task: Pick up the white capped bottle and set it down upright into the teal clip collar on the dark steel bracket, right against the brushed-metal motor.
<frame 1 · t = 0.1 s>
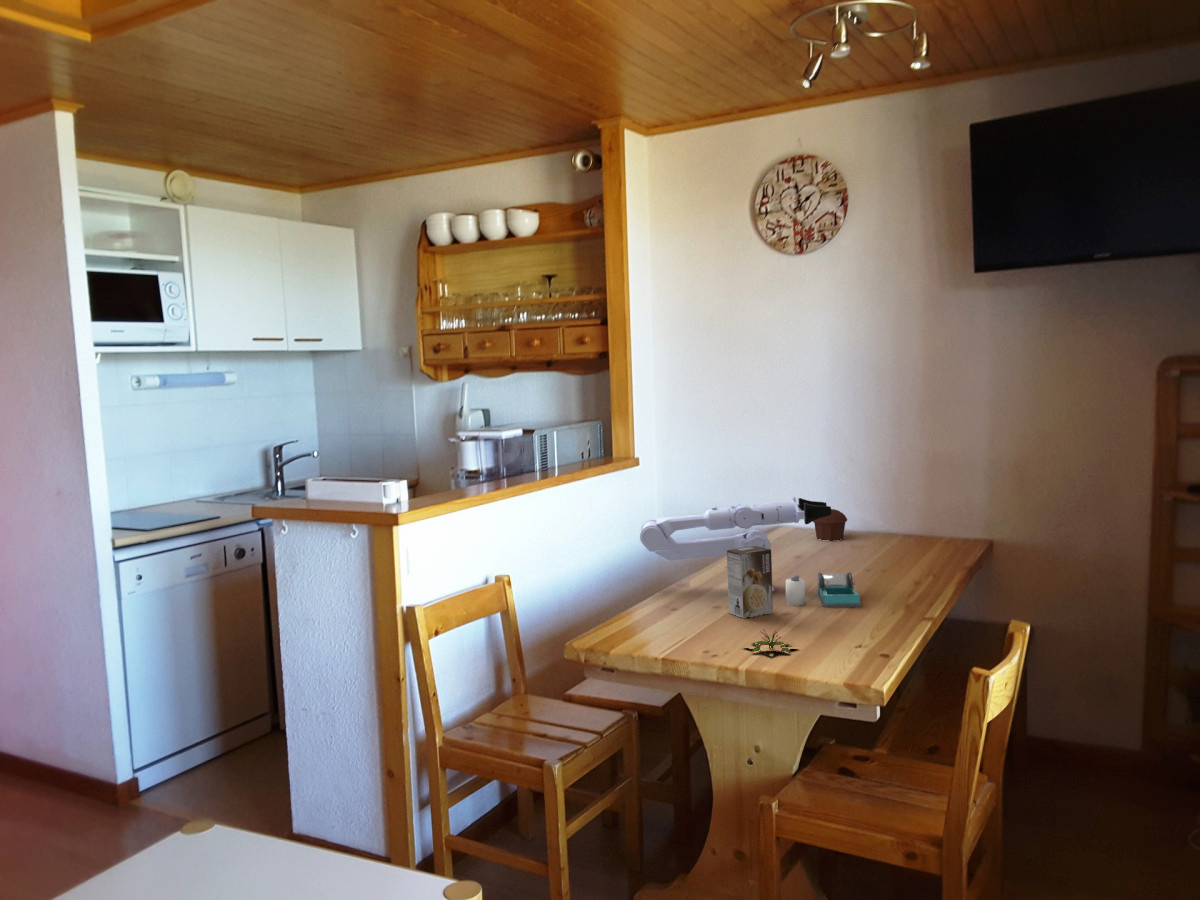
hand: (828, 508, 258), 22 cm above the table, tool horizontal, fingers open, 7 cm apart
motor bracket: (839, 602, 244), on the table
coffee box: (750, 614, 237), on the table
white capped bottle: (795, 603, 245), on the table
muffin: (829, 539, 326), on the table
lily flower: (770, 652, 208), on the table
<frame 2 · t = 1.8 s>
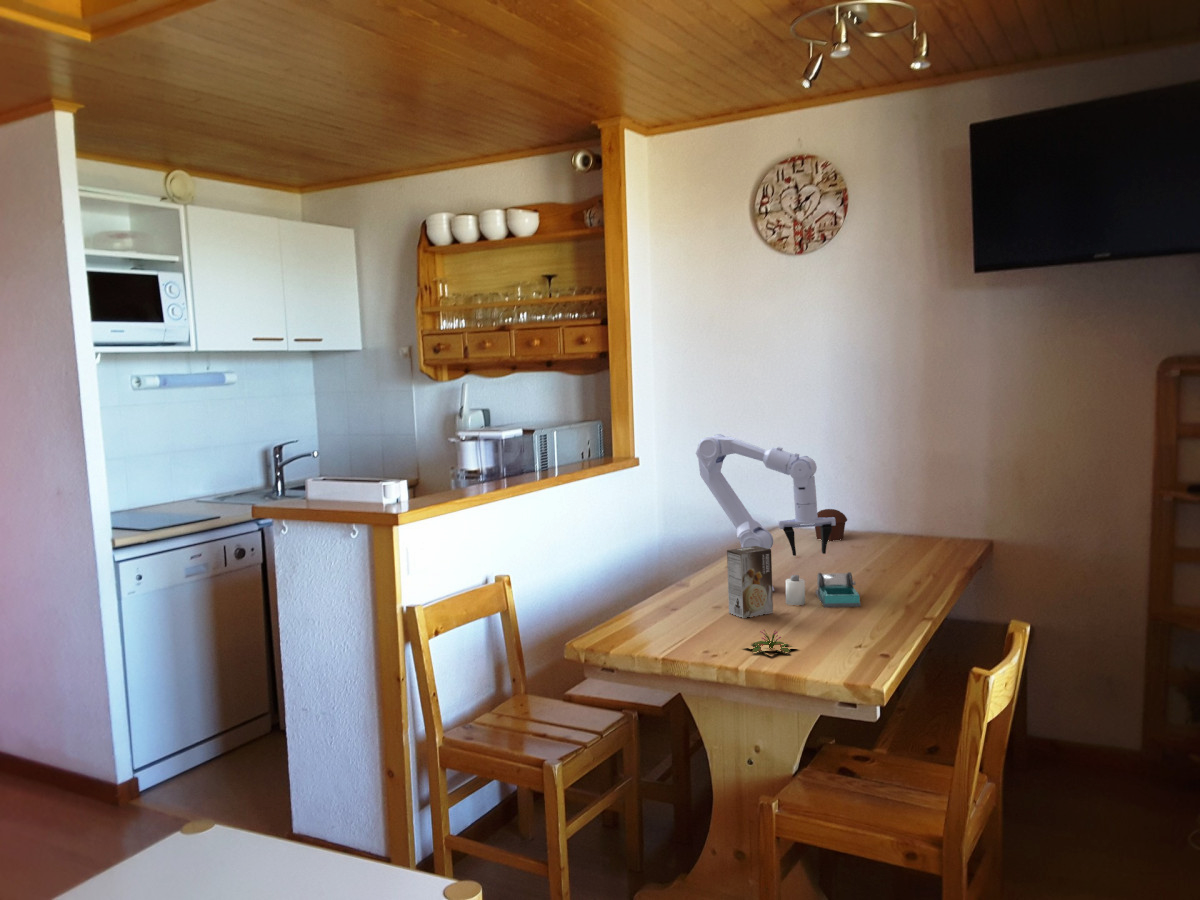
hand: (809, 554, 254), 10 cm above the table, tool pointing down, fingers open, 7 cm apart
nothing on the table moved.
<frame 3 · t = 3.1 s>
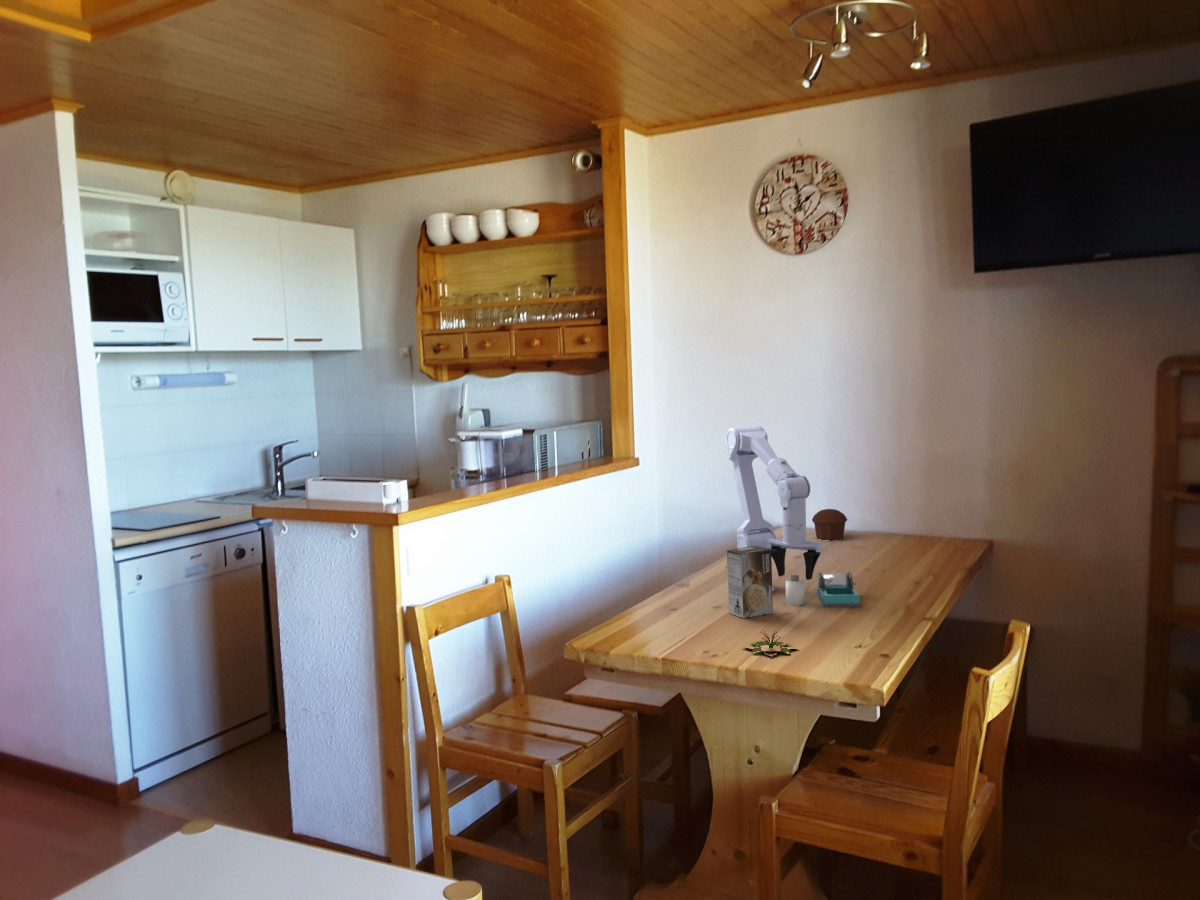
hand: (795, 577, 244), 7 cm above the table, tool pointing down, fingers open, 7 cm apart
nothing on the table moved.
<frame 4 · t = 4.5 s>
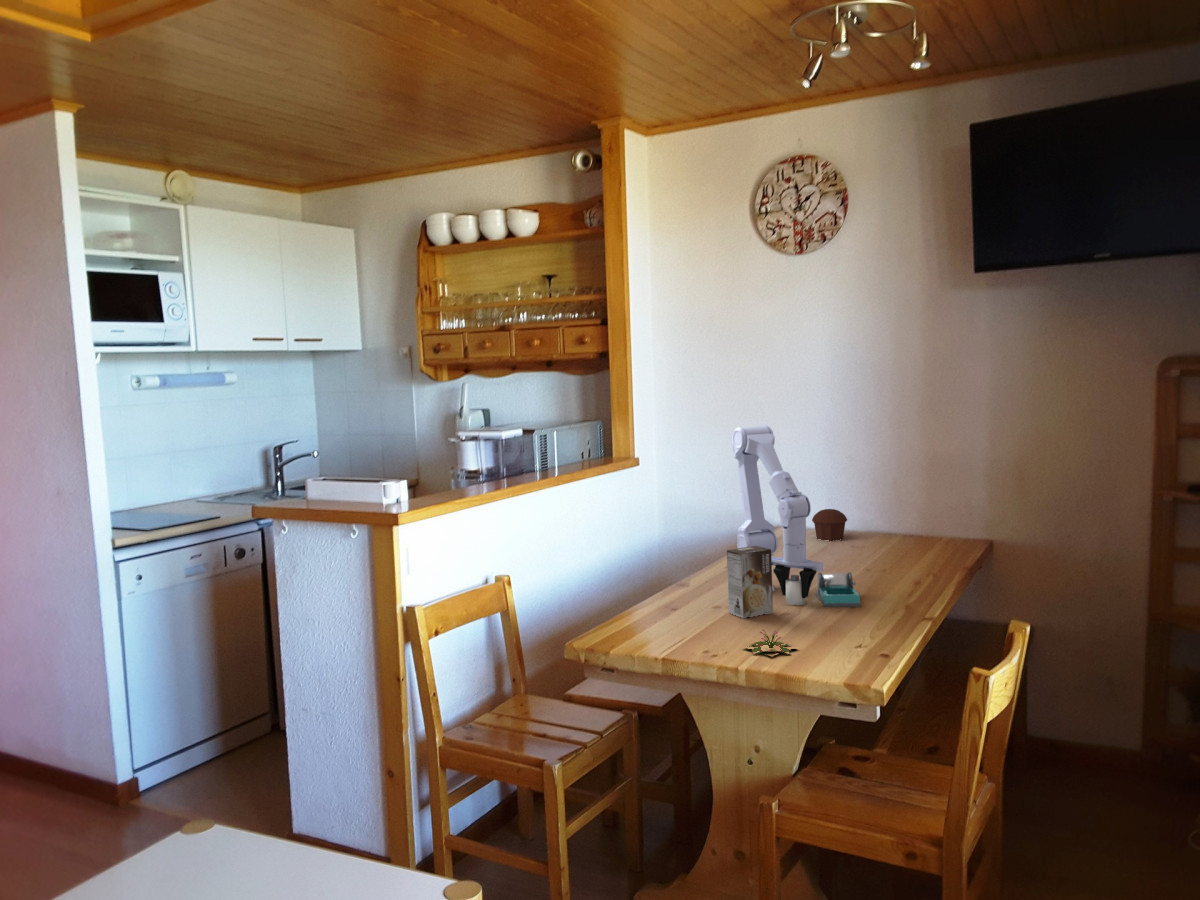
hand: (795, 596, 245), 2 cm above the table, tool pointing down, fingers closed on white capped bottle, 5 cm apart
white capped bottle: (795, 603, 245), on the table, touching gripper
everything else where it was.
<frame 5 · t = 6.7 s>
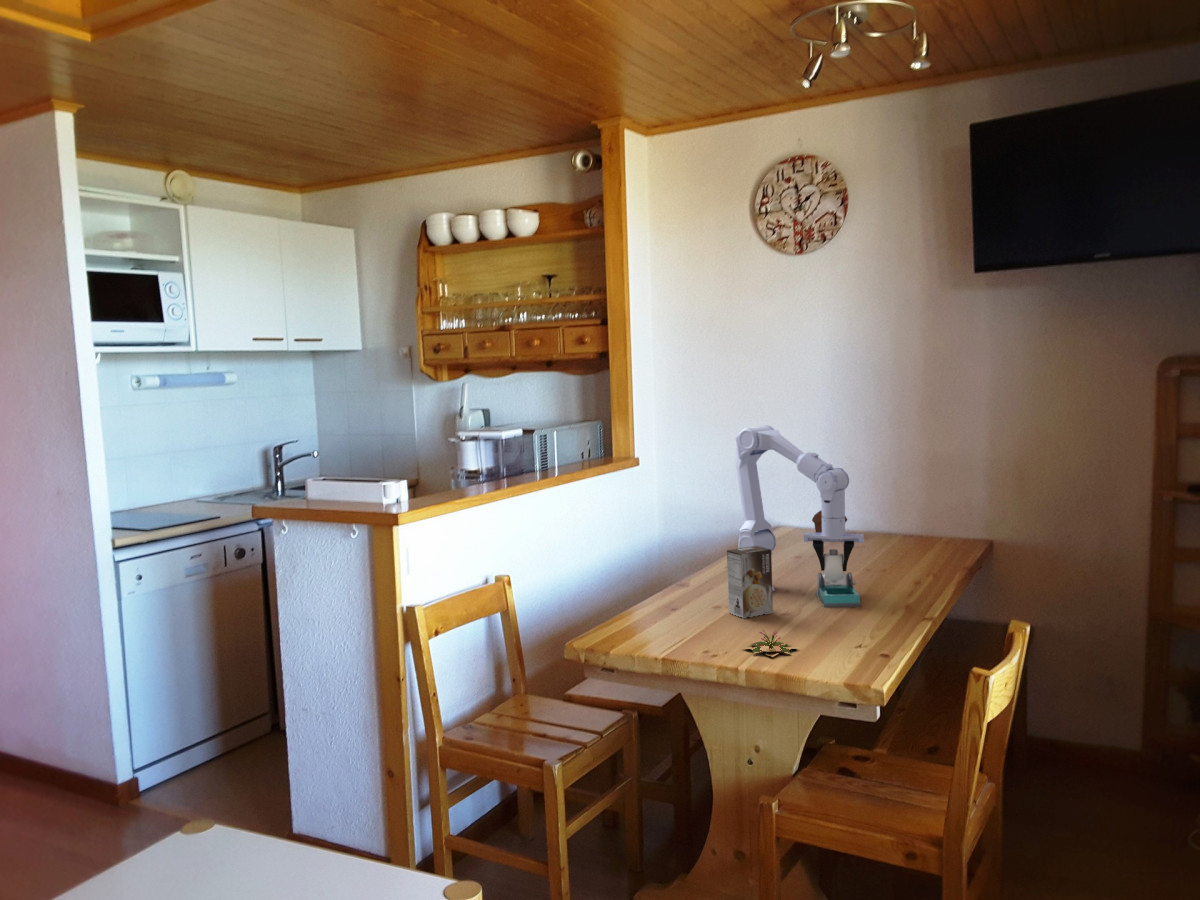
hand: (833, 570, 243), 8 cm above the table, tool pointing down, fingers closed on white capped bottle, 5 cm apart
white capped bottle: (833, 577, 243), point 6 cm above the table, touching gripper
everything else where it was.
when the fingers open (4 cm above the table, at t = 8.9 s): white capped bottle stays where it is, resting on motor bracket.
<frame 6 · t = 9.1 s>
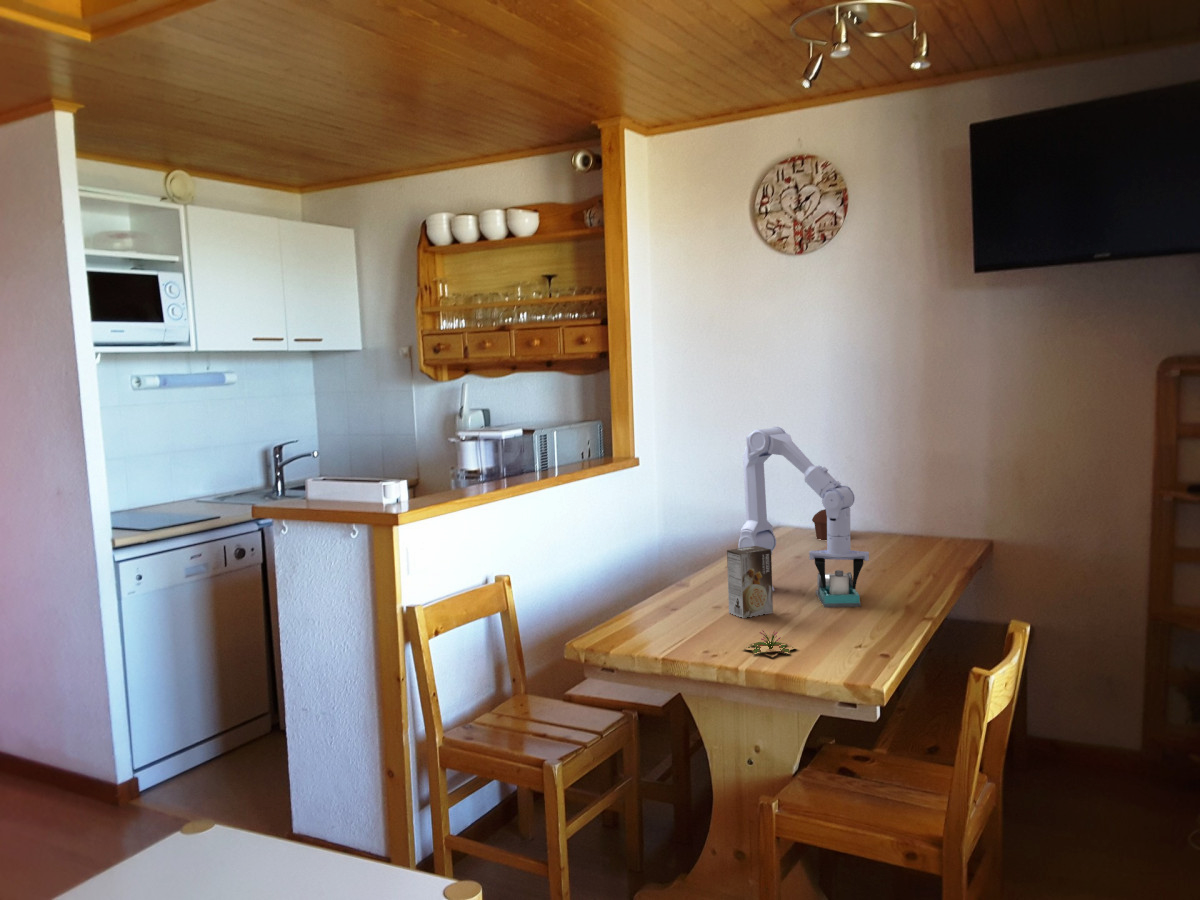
hand: (839, 587, 243), 4 cm above the table, tool pointing down, fingers open, 7 cm apart
white capped bottle: (839, 599, 244), point 1 cm above the table, touching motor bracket
everything else where it was.
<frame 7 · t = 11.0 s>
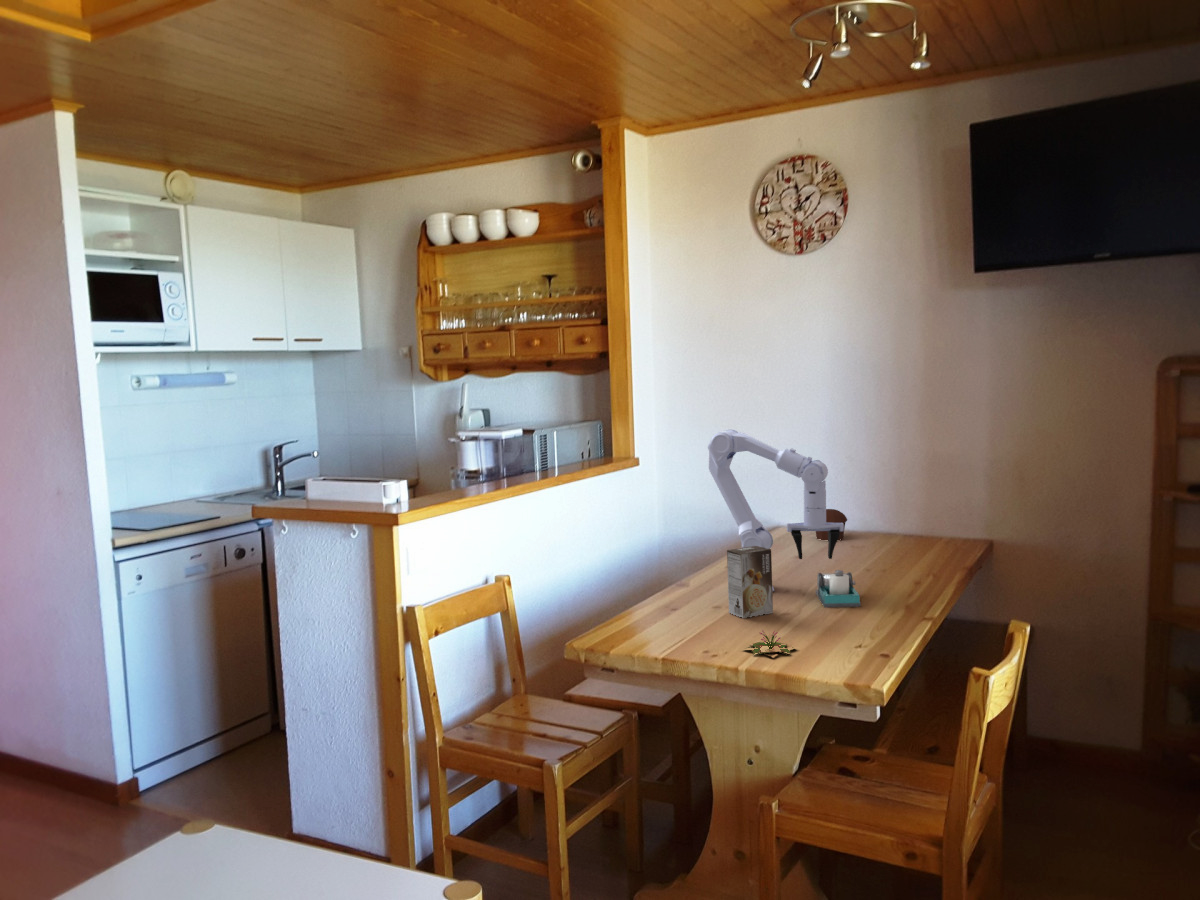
hand: (815, 558, 254), 9 cm above the table, tool pointing down, fingers open, 7 cm apart
nothing on the table moved.
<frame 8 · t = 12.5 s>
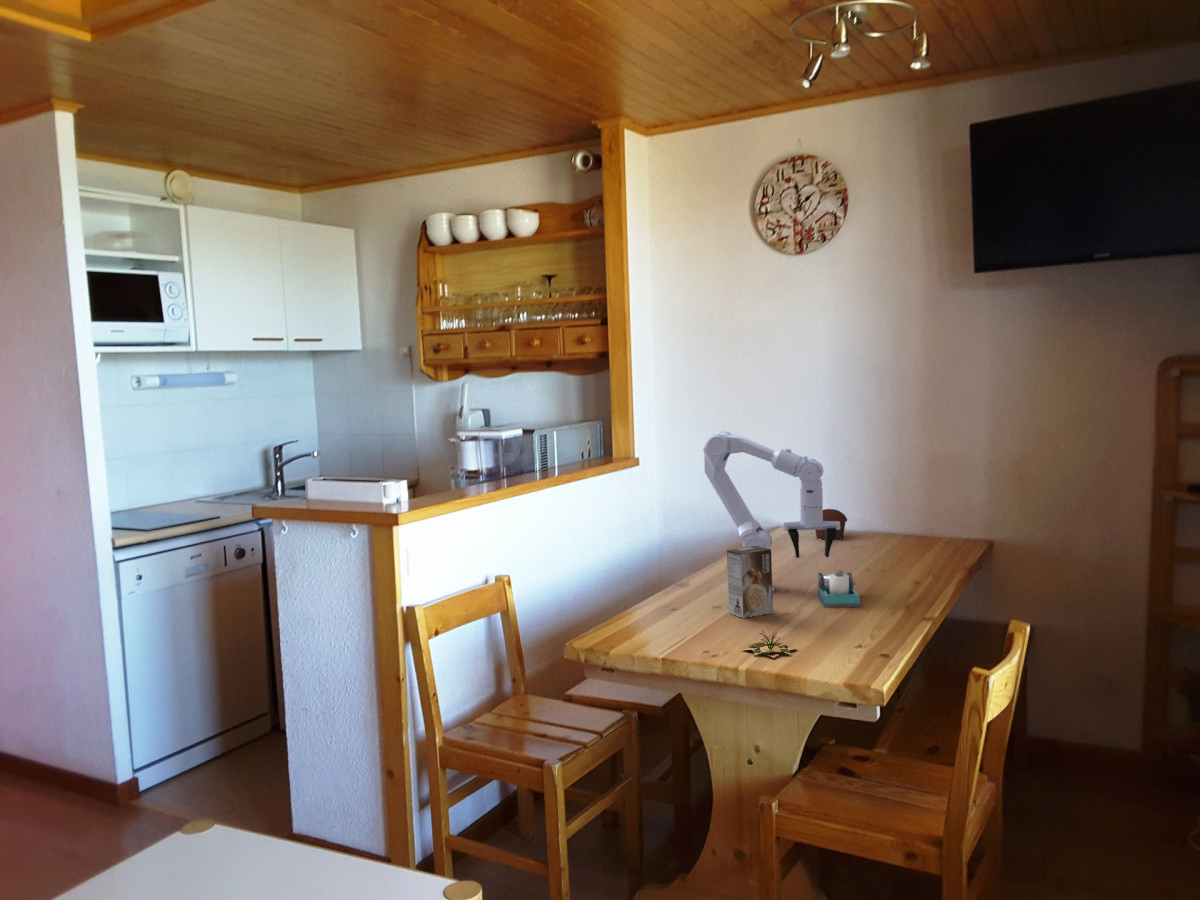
hand: (812, 556, 255), 9 cm above the table, tool pointing down, fingers open, 7 cm apart
at the end: white capped bottle 0.1 cm off-centre on the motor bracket, point 1.0 cm above the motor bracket's base; white capped bottle tilted 0°; the gripper is holding nothing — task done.
